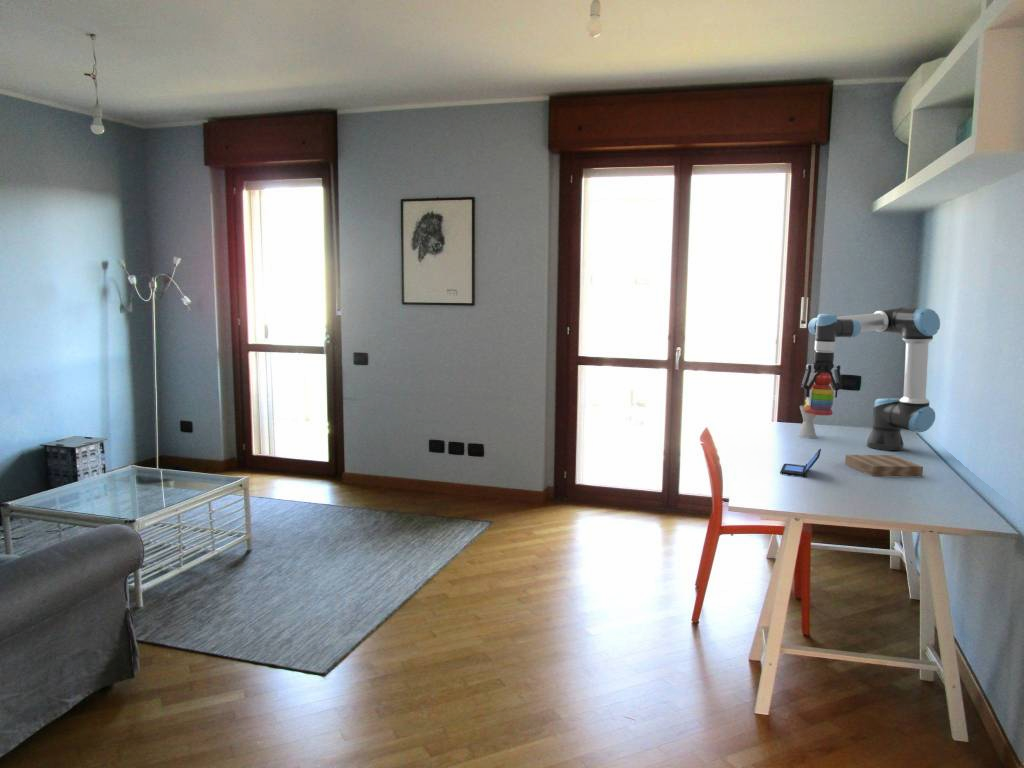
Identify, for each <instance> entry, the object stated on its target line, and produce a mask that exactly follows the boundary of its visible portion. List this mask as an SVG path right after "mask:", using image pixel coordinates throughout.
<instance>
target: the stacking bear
mask: <svg viewBox="0 0 1024 768" xmlns="http://www.w3.org/2000/svg"><path fill="white" fill-rule="evenodd" d="M816 373H817V372H816ZM830 382H831V376H830V374H829V373H827V372H821V373H820V374H819V376H817V378H816V380H815V382H814V384H815V385H813V386H812V387H813V388H812V389H811V390H812V397H811V406H810V407H809V408H805V409H804V412H806V413H809V414H813V415H816V416H832V415H833V410H832V407H833V406H832V404H833V388H832V386H831V384H830Z"/></svg>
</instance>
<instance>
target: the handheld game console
mask: <svg viewBox="0 0 1024 768" xmlns="http://www.w3.org/2000/svg"><path fill="white" fill-rule="evenodd" d="M821 452H822V448H819V449H818V450H817V452H816V453H815V454H814V455H813V457H812V458H811V459H810V460H809V462H808V463H806V464H805V465H803V464H795V463H783V465H782V467H781V469H780V472H779V473H780V474H781V473H782V474H781V475H783V474H787V475H786V476H791V475H794V476H793V477H799V476H801V477H800V478H806V477H807V473H808V472H809V470H810V469H811V468H812V467H813V466H814V465H815V463H816V462H817V461H818V459H819V458H820V456H821Z"/></svg>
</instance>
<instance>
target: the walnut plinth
mask: <svg viewBox="0 0 1024 768" xmlns="http://www.w3.org/2000/svg"><path fill="white" fill-rule="evenodd" d="M844 460H845V461H844V464H845V465H846V466H848V467H850V466H851V467H850V468H853V469H855V470H857V469H858V470H857V471H859V470H860V471H859V472H861V471H863V472H865V473H864V474H866V473H867V474H866V475H868V474H869V475H868V476H870V475H871V476H870V477H884V476H922V477H923V472H924V466H923V465H920V464H917V463H914V462H912V461H909V460H907V459H904V458H901V457H898V456H896V455H893V454H845V459H844ZM863 472H862V473H863Z"/></svg>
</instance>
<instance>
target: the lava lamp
mask: <svg viewBox="0 0 1024 768" xmlns="http://www.w3.org/2000/svg"><path fill="white" fill-rule="evenodd" d="M814 370H815V369H814V368H812V370H811V374H810V377H809V379H810V378H811V376H812V374H813V372H814ZM813 385H815V383H813ZM813 385H812V386H813ZM812 388H813V387H811V388H810V390H811V389H812ZM804 403H805V404H800V405H799V409H800V413H801V415H802V419H803V421H802V424H801V426H800V428H799V430H798V433H797V436H798V435H799V436H798V437H800V436H802V437H801V438H805V437H807V438H806V439H815V438H817V434H816V430H815V427H814V425H815V424H814V420H815V418H816V416H817V415H813V414H809V413H806V412H804V409H805V408H809V407H810V406H809V405H806V399H805V400H804Z"/></svg>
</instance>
